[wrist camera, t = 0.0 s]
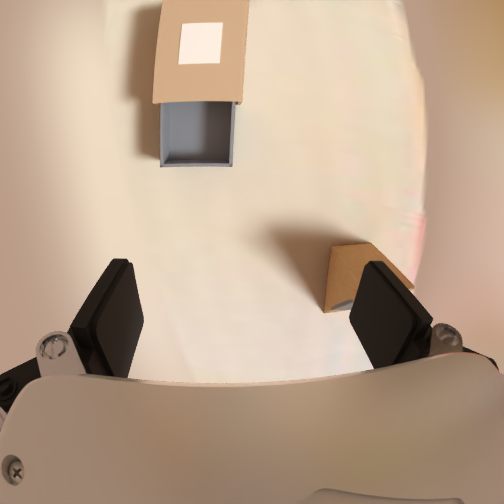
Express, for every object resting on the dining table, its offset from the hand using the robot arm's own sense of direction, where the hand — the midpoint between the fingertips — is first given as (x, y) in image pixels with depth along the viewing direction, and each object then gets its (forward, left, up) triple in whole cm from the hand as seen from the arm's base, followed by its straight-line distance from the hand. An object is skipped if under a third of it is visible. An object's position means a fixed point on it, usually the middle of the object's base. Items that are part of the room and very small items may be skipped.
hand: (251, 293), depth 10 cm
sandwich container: (+20, +22, -32) cm, 43 cm away
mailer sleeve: (-17, -5, -31) cm, 36 cm away
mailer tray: (-8, -5, -31) cm, 32 cm away
